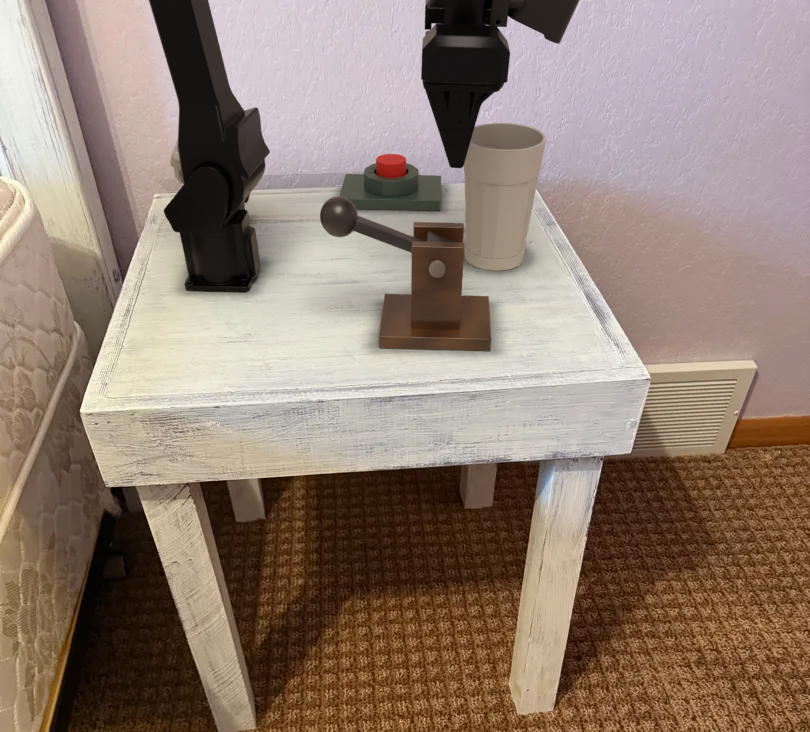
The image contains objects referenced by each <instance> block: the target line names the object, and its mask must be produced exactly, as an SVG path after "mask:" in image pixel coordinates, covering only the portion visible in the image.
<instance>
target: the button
mask: <svg viewBox="0 0 810 732" xmlns="http://www.w3.org/2000/svg"><path fill="white" fill-rule="evenodd" d="M375 163H376V175H377V176H381V177H385V178H397V177H402V176H405V175H406V163H407V158H406V157H405V156H404V155H403V154H398V153H385V154H381V155H379V156H377V157H376V158H375Z"/></svg>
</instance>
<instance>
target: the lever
mask: <svg viewBox="0 0 810 732" xmlns="http://www.w3.org/2000/svg"><path fill="white" fill-rule="evenodd" d="M319 220H320V224H321V226H322V228H323V230H324V231H325V232H326V233H327V234H328V235H330V236H332V237H335V238H344V237H345V238H346V237H347V236H349V235H351V233H353V232H355V233H358V234H360V235H363V236H365V237H368V238H370V239H373V240H376V241H379V242H381V243H384V244H387V245H389V246H392V247H394V248H397V249H400V250H402V251H405V252H408V253H411V254H412V242H413V241H414V242H455V241H453V240H450V239H447V238H445V237H442V236H440V235H437V234H435V233H432V232H429V231H428V233H427V235H426V238H425V240H424V241H423V240H420V239H418V238H415V237H413V236H412V235H411V234H407V233H405V232H401V231H399V230H397V229H394V228H391V227H389V226H386V225H384V224H381V223H378V222H376V221H373V220H371V219H368V218H366V217H363V216H360V215H359V214H358V209H356V207H355V206H354V204H353V203H352V202H351V201H350V200H349V199H347V198H345V197H341V196H340V195H336V196H332V197H330V198H328V199H327V200H326V201H324V202H323V204H322V206H321V208H320V213H319Z"/></svg>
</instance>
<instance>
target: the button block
mask: <svg viewBox="0 0 810 732" xmlns="http://www.w3.org/2000/svg"><path fill="white" fill-rule="evenodd" d="M363 170H364V171H363V173H345V175H344V179H343V182H342V185H341V189H340V192H339V196H341V197H345V198H347V199H349V200H350V201H351V202H352V203H353V204H354V206H355V207H356V210H382V211H383V210H385V211H426V212H427V211H431V212H433V211H436V212H440V211H441V197H442V196H441V195H442V193H441V192H442V175H435V174H433V175H429V174H428V175H427V174H419V173H420V172H419V168H417V167H416V166H415V165H413V164H412V163H407V162H406V175H405V176H402V177H397V178H385V177H381V176H377V175H376V162H375V163H372V164H370V165H368V166H366V167H364V169H363Z"/></svg>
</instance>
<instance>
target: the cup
mask: <svg viewBox="0 0 810 732" xmlns="http://www.w3.org/2000/svg"><path fill="white" fill-rule="evenodd" d="M546 142H547V136H546V134H545V133H544V132H543V131H542V130H540V129H538V128H535V127H533V126H529V125H525V124H519V123H511V122H493V123H492V122H491V123H482V124H478V125H475V127H474V131H473V134H472V138H471V142H470V145H469V149H468V152H467V156H466V159H465V163H464V166H463V172H464V221H465V222H464V223H465V224H464V233H465V242H464V260H465V261H466V262H467V263H468V264H469V265H471V266H473V267H475V268H477V269H481V270H484V271H485V270H486V271H507V270H511V269H514V268H517V267H519V266H520V265H521V264H523V262H524V260H525V252H526V243H527V238H528V233H529V227H530V222H531V216H532V212H533V206H534V201H535V196H536V191H537V185H538V181H539V175H540V173H541V167H542V161H543V157H544V153H545V147H546V144H547V143H546Z"/></svg>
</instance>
